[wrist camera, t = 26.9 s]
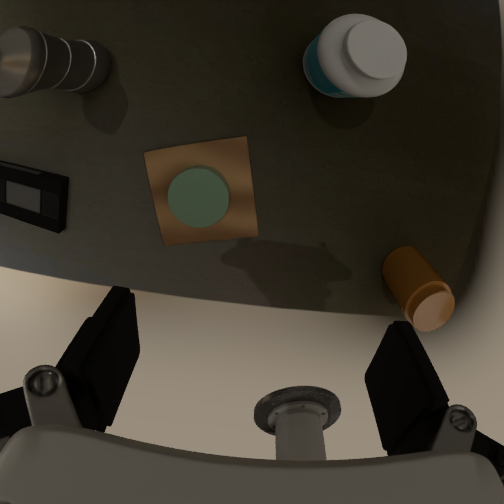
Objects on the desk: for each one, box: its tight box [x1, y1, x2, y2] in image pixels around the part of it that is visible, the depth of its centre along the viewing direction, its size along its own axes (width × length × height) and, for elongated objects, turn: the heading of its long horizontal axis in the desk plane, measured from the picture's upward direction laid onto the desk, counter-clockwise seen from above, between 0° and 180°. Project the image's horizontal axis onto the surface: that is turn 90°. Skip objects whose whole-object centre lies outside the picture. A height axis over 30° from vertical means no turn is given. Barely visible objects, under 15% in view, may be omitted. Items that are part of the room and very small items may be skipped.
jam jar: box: [382, 246, 455, 332], centre depth 35 cm, size 6×6×11 cm
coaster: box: [144, 136, 259, 245], centre depth 36 cm, size 12×12×1 cm
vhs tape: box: [0, 161, 69, 233], centre depth 36 cm, size 8×14×2 cm, turn 73°
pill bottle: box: [303, 14, 407, 98], centre depth 23 cm, size 8×7×14 cm
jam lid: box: [168, 165, 231, 228], centre depth 35 cm, size 7×7×2 cm
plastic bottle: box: [0, 26, 111, 98], centre depth 20 cm, size 6×7×20 cm
